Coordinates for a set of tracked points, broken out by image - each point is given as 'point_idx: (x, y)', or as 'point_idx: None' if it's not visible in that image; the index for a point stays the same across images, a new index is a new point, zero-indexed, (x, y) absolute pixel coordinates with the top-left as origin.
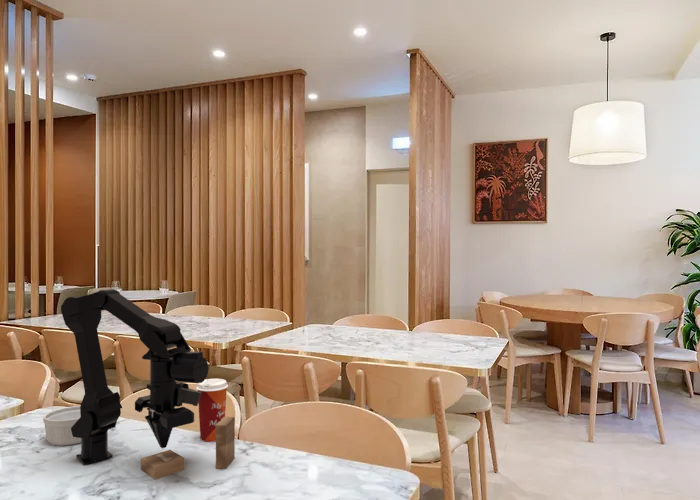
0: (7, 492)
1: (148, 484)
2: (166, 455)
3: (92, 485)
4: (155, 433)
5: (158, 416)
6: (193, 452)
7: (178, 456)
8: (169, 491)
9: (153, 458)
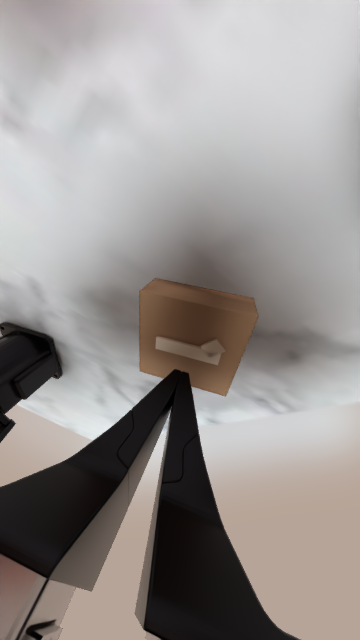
0: None
1: (234, 389)
2: (178, 330)
3: None
4: (148, 460)
5: (69, 587)
6: (153, 165)
7: (224, 318)
8: (316, 398)
9: (166, 360)
